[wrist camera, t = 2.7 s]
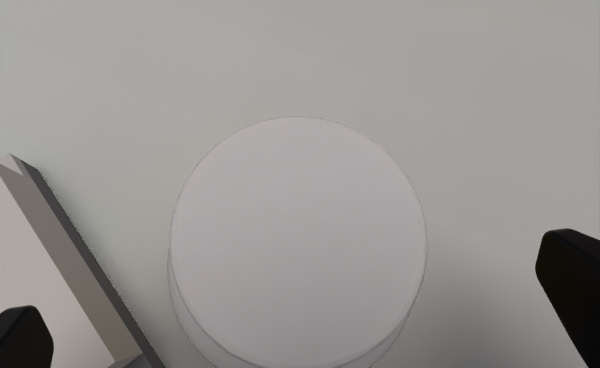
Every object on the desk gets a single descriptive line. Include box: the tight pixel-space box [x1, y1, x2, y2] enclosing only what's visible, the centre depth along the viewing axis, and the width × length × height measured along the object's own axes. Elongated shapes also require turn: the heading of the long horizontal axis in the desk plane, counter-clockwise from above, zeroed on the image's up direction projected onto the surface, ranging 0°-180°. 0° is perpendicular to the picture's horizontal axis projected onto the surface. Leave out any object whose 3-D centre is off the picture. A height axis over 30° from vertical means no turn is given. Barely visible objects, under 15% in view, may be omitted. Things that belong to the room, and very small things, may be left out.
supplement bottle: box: [167, 116, 427, 368], centre depth 11 cm, size 5×5×10 cm
